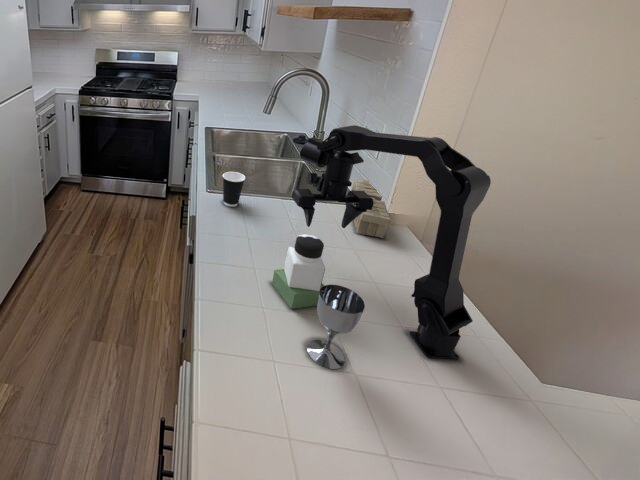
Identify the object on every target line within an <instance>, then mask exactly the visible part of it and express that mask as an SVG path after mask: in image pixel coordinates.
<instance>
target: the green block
mask: <svg viewBox="0 0 640 480" xmlns="http://www.w3.org/2000/svg"><path fill="white" fill-rule="evenodd" d="M271 285H272V286H273V288H274V289H275V290H276V291H277V293H278V294H279V296H280V297H281V298H282V299H283V301H284V302H285V303H286V304H287V305H288V307H289V308H290V309H291V310H294V309H300V308H307V307H314V306H317V300H318V295H319V291H314V290H307V289H300V288H292V287H289V286H288V282H287V278H286V274H285V271H284V268H280V269H274V271H273V276H272V280H271ZM323 286H325V285H324V283H322V284H321V288H322V287H323ZM321 288H320V289H321Z"/></svg>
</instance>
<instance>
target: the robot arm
mask: <svg viewBox="0 0 640 480" xmlns="http://www.w3.org/2000/svg"><path fill="white" fill-rule="evenodd" d="M355 151H373V152H379V153H380V152H381V153H388V154H395V155H401V156H408V157H414V158H417V159H418V160H420V162H421V163H422V166H423V168H424V171H425V174H426V175H427V177H428V178H429V180H431V182H432V183H433V184H434V185H435V186H434V188H435V200H436V203H437V205H438V207H439V210H440V215H439V220H438V225H437V230H436V236H435V241H434V247H433V252H432V257H431V262H430V267H429V273H428V274H425V275H423V276H421V277H418V278H415V280H414V284H413V286H414V288H413V289H414V290H413V293H412V294H411V295H410V296H411V298H413V303H414V307H415V308H416V309H417V321H418V325H417V328H416V331H414V330H410V331H409V333H408V334H409V335H410V337H411V339H412V340H413V342H414V343H415V344H416V345H417V346H418V348H419V349H420V350H421V352H422V354H424V356H425V357H427V358H433V359H445V360H447V359H448V360H459V359H460V356H459V355H458V353H457V352H456V351H455V350H456V347H457V345H458V343H459V341H460V339H461V335H460V329H462V328H464V327H467V326H468V325H470V324H471V323H473V321H474V320H473V318H472V316H471V315H470V313H469V312H468V310H467V308H466V306H465V304H464V303H465V301H464V297H465V296H464V289H463V285H462V284H461V283H462V282H461V281H460V273H461V269H462V264H463V259H464V255H465V251H466V246H467V241H468V236H469V231H470V227H471V222H472V218H473V215H474V213H475V212H476V210H477V209H478V207H479V206H480V205H481V203H482V202H483V201H484V200H485V197H486V195H487V193H488V191H489V189H490V187H491V184H492V183H491V181H492V180H491V176H490V175H488V173H487V172H486V171H485V170H483V169H482V168H480V167H478V166H476V165H475V163H473V162H472V161H471V160H470V159H469V158H468V157H466V156H465V155H463V154H462V153H460V152H459V151H458V150H456V149H454V148H453V147H451V146H450V144H448V142H446V140H444V139H443V138H441V137H437V136H432V137H428V136H427V137H426V136H415V135H407V134H406V135H404V134H396V133H395V134H394V133H385V132H376V131H373V130H371V129H369V128H367V127H363V126H359V125H356V124H355V125H347V126H346V125H345V126H340V127H336V128H335V127H334V128H333V129H332V130H331V131H330V133H329V135H328V137H326V138H325V139H324V140H321V139H319V138H317V137H315V136H313V137H309V138H308V139H307V142H305V143H304V144H303V146H302V147H301V149H300V151H299V158H300V159H301V160H302V161H304V162H306V163H309V164H311V165H313V166H316V167H318V168H325V167H326V168H325V171H324V172H322V173H321V175H318V174H317V172H307V176H306V184H307V185H312V188H316V191H317V192H319V193H313V192H312V191H311V190H310V189H309V188H294V190H293V191H292V194H291V198H292V200H293V201H294V202H295V204H296V206H297V207H299V208H301V209H302V210H303V214H304V219H305V224H306V226H307V227H308V228H309V227H310V226H311V224H312V221H313V219H314V215H315V210H316V208H315V206H316V203H317V202H320V203H345V209H344V213H343V217H342V220H341V228H342V229H345V228H347V227H348V226H349V225H350V224H351V223H352V222H354V219H355V218H356V217H358V216H359V215H360V214H362V213H363V212H367V210H372V209H373V206H374V200H373V199H372V198H371V197H370V196H369V195H368V194H367V193H366V192H365V191H354V190H352V189H351V190H349V191H348V188H349V187H352V185H353V182H352V181H350V180H351V176H352V171H353V167H354V166H355V165H358V164H362V163H363V164H364V161H365V160H364V159H363V157H362V156H361V155H360V154H359V152H355ZM347 191H348V192H347Z"/></svg>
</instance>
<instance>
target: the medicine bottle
mask: <svg viewBox="0 0 640 480" xmlns="http://www.w3.org/2000/svg"><path fill="white" fill-rule="evenodd" d="M324 248H325V244H324V242H323V241H322V240H321V239H320V238H319V237H317V236H314V235H312V234H307V233H306V234H299V235H297V236H296V239H295V243H294V246H288V248H287V253H286V256H285V257H286V258H285V262H284V267H283V269H284V271H285V274H286V278H287V282H288V286H289V287H292V288H300V289H307V290H314V291H320V288H321V284H323V279H324V276H325V272H326V269H327V268H326V264H325V263H324V260H323V258H322V256H323V251H324Z"/></svg>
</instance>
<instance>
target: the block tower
mask: <svg viewBox="0 0 640 480" xmlns="http://www.w3.org/2000/svg"><path fill="white" fill-rule="evenodd" d="M369 181H370V180H367V179H361V180H358V179H354V180H353V183H352V186H351V187H352V188H351V190H354V191H365V192H366V193H367V194H368V195H369V196H370V197H371V198H372V199H373V200H374V206H373V209H372V210H367V212H363V213H362V214H360V215H359V216H358V217H356V218H355V219H354V220H353V223H354V228H355V232H356V234H359V235H364V236H365V235H366V236H370V237H377V238H381V239H384V238H385V236H386V232H387V228H388V227H390V224H391V222H392V218H391V215H390V214H389V211H388V209H387V205H386V202H385V201H384V200H382V199H383V195H382V196H381V195H380V194H379V193H378V192H377V190H376V189H375V188H374V187H373V186H372V185H371V184H370V183H369Z"/></svg>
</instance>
